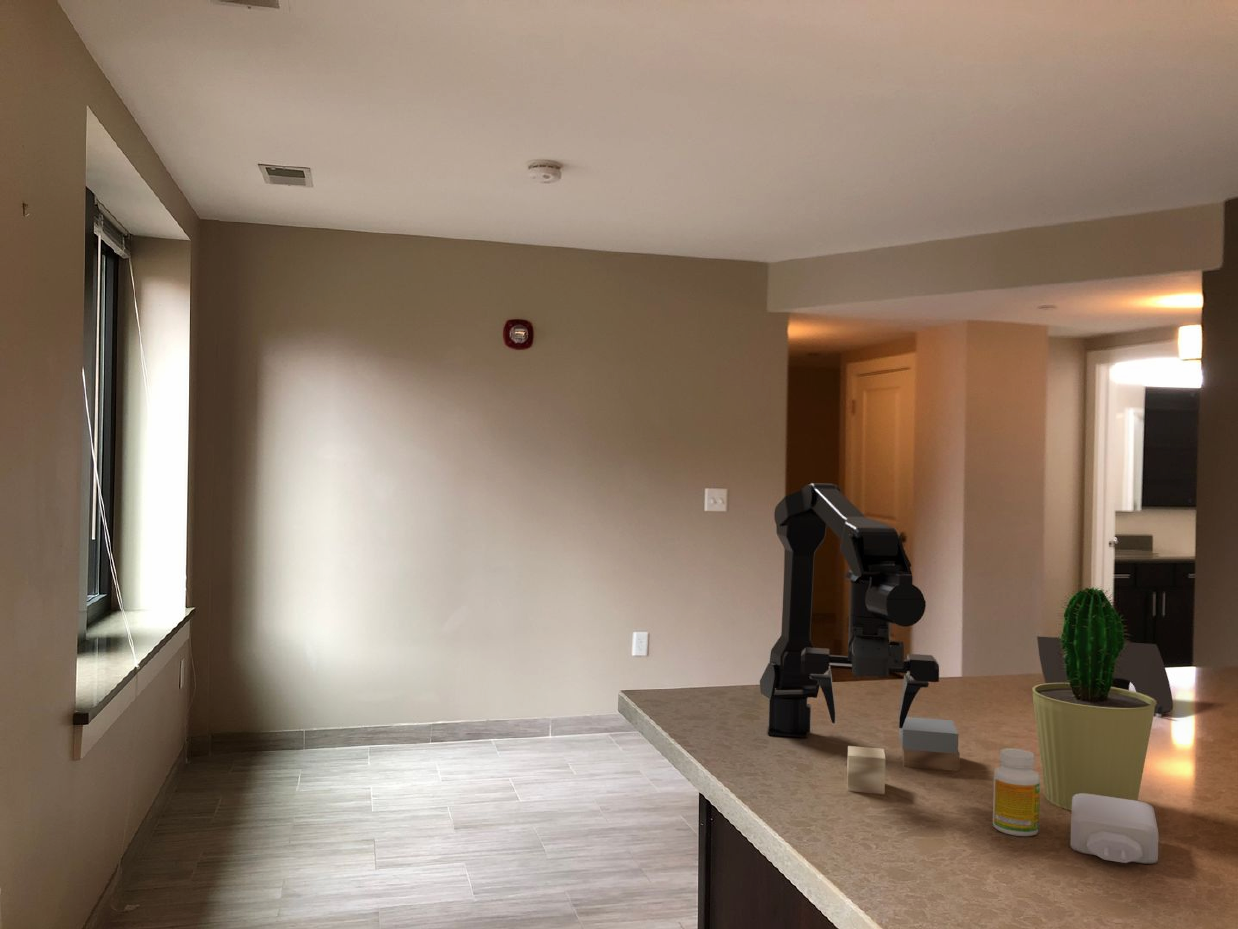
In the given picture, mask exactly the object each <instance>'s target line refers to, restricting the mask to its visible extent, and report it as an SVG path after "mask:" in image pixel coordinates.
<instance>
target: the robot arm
mask: <svg viewBox="0 0 1238 929" xmlns="http://www.w3.org/2000/svg"><path fill="white" fill-rule="evenodd" d="M773 514H774V515H773V516H774V522H775V524H776V527H775V528H776V529H775V530H776V536H777V538H778V539H779V541H780V542H781V544H782V546H783V548H784V550H785V551H784V554H785V555H784V574H783V589H782V591H783V593H782V613H781V615H782V616H781V634H780V636H779V638H778V639H777V641H776V642H775V643H774V645H773V647H772V648H771V650H770V654H769V656H770V657H769V662H768V664H767V666H766V668H765V670H764V672H763V674H761V677H760V679H759V689H760V694H761V695H763V696H765V697H766V698H767V699H768V701H769V702H768V706H769V707H768V727H767V731H766V733H767V735H769V736H779V737H793V738H808V733H810V732H811V724H812V722H811V714H812V705H811V704H810V703H808V699H809V698H811V699H812V698H814V699H817V698H818V694H819V690H820V689H821V692H822V693H823V696H824V699H825V703H826V706H827V710H828V714H829V717H830V720H831V723H832V724H835V723H836V707H835V706H836V705H835V698H834V687H833V686H834V685H833V676H832V669H837V670H838V669H839V670H851V674H852V675H853V676H855V677H859V678H863V677H876V678H877V679H886V678H887V677H889V673H898V674H904V675H903V682H902V690H901V696H900V704H899V712H898V729H900V728H902V727H903V725H904V722H905V719H906V717H908V714H909V711H910V708H911V705H912V704H913V701H914V699H915V698H916V696H917V694H918V692H919V691H920V690H921V689H922V688H928V687H929V684H930V683H939V682H940V664H939V662H938V661H937V659H936V658H935V657H934V656H933V655H932V654H920V653H919V654H918V653H907V655H906V659H905V658H904V657H905V654H904V653H905V652H904V651H905V644H904V641H900V640H899V641H898V640H897V641H896V640H891V624H893V625H896V626H900V627H904V628H905V627H906V628H907V627H912V626H914V625H915V624H917V623H919V621H921V619H922V618H923V616H924V615H925V612H926V606H927V603H926V599H925V596H924V594H923V593H922V590H921V589H920V588H919V587H918V586H916V585H914V584H913V574H912V570H911V566H912V564H911V561H910V559H909V557H908V555H907V552H906V551H905V548H904V546H903V542H902V539H901V537H900V536H899V533H898V531H897V530H896V528H894V527H893V526H891V525H889V524H888V523H885V522H884V521H880V520H875V519H871V518H869V517H867V516H865V514H864V513H863V512H861V510H860V509H859V508H857V507H856V506H855V505H854V504H853V503H852V502H851V500H849V499H848V498H847V497H846V496H845V495H843V493H842V492H841V489H840V486H838V485H836V484H834V483H825V482H824V483H819V482H816V483H813V482H811V483H810V484H806V485H805V486H804V487H803V488H802V489H801V490H797V491H796V492H793V493H790V494H788V495H786V496H784V497H783V498H782V499H781V501H779V503H778V504H776V506H775V508H774V513H773ZM827 527H828V528H829V529H831V531H832V532H833V533H834V534H835V535H836V536H837V537H838V538H839V540H840V546H839V551H840V553H841V554H842V556H843V558H844V559H845V561H846V563H847V565H848V567H849V568H850V569H849V570H847V572H846V573H845V575H844V577H845V579H846V580H849V601H848V602H849V606H848V636H847V637H848V641H847V642H848V643H847V655H837V654H836V655H835V654H830V648H825V647H823V648H822V647H821V648H820V647H815V645H814V643H813V642H812V640H811V631H812V628H811V627H812V614H813V613H812V611H813V610H812V608H813V594H814V593H813V588H814V570H815V554H816V552H817V550H818V549H819V547H820V546H821V544H822V543H823V542H824V540H825V538H826V534H827Z"/></svg>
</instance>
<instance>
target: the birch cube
mask: <svg viewBox="0 0 1238 929" xmlns="http://www.w3.org/2000/svg"><path fill="white" fill-rule="evenodd" d="M846 763H847V766H846V767H847V768H846V769H847V770H846V772H847V775H846V787H847V792H856V793H857V792H858V793H868V794H878V795H885V793H886V791H885V788H886V755H885V748H879V747H866V746H855V745H854V746H853V745H848V746H847V762H846Z"/></svg>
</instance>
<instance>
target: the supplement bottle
mask: <svg viewBox="0 0 1238 929" xmlns="http://www.w3.org/2000/svg"><path fill="white" fill-rule="evenodd" d="M999 761H1000V763H1001V765H999V766H997V767H996V768H995V769H994V772H993V791H992V792H993V795H992V796H993V799H992V802H993V803H992V826H993V827H994V828H995V829H996V830H997V831H998V832H1001V833H1003V834H1007V835H1008V836H1016V837H1032V836H1035V835H1037V834H1038V833H1039V824H1040V788H1041V787H1040V786H1041V783H1040V781H1041V780H1040V775H1039V773H1038V772H1037V771H1036V770H1034V769H1033V767H1035V754H1034V753H1033V752H1032V751H1029V750H1025V749H1021V748H1011V747H1010V748H1009V747H1008V748H1007V747H1006V748H1003V749H1000V755H999Z"/></svg>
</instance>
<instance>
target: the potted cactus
mask: <svg viewBox="0 0 1238 929" xmlns="http://www.w3.org/2000/svg"><path fill="white" fill-rule="evenodd" d="M1080 586H1082V584H1080ZM1077 587H1078V588H1077V590H1076V591H1075V592H1074V591H1072V593H1071V592H1070V594H1071V595H1072V596H1070V594H1067V595H1068V596H1069V598H1068V597H1067V596H1066V595H1064V599H1065V600H1066V601H1062V599H1061V600H1060V601H1061V602H1063V604H1062V603H1061V604H1059V605H1061V606H1060V607H1061V608H1063V609H1064V611H1062V610H1061V612H1060V613H1057V614H1059V617H1061V618H1063V623H1060V625H1062V627H1061V628H1062V631H1061V633H1060V634H1059V633H1058V635H1060V636H1055V637H1054V638H1061V642H1060V641H1059V642H1060V643H1061V644H1062V648H1063V650H1064V651H1063V652H1064V653H1066V655H1065V654H1063V655H1064V656H1065V660H1064V661H1061V662H1064V663H1065V666H1063V667H1065V668H1066V670H1060V671H1066V674H1067V679H1068V680H1065V681H1066V682H1067V681H1069V682H1070V683H1041V684H1037V685H1034V686H1032V688H1031V689H1032V702H1033V709H1034V715H1035V716H1034V717H1035V725H1036V731H1037V732H1036V733H1037V742H1038V750H1039V756H1040V758H1039V759H1040V765H1041V772H1042V783H1043V791H1044V794H1045V798H1046V800H1047V801H1048V802H1049V803H1051V804H1053V805H1054V806H1057V807H1058V808H1062V809H1065V810H1069V811H1072V798H1073V796H1074V795H1076V794H1081V793H1085V794H1093V795H1100V796H1107V797H1114V798H1121V799H1128V800H1135V801H1139V795H1140V789H1141V784H1142V778H1143V773H1144V768H1145V762H1146V758H1147V752H1148V748H1149V747H1148V746H1149V742H1150V737H1151V731H1152V727H1153V726H1152V725H1153V720H1154V716H1155V713H1154V708H1155V705H1156V704H1157V703H1156V700H1154V699H1153V698H1151V697H1149V696H1147V695H1144V694H1141V693H1137V692H1136V691H1135V690H1130V689H1129V690H1125V689H1120V688H1117V687H1116V688H1115V687H1113V686H1112V687H1111V685H1112V684H1113V683H1112V681H1113V675H1115V676H1117V675H1116V674H1115V673H1114V669H1115V667H1117V666H1115V664H1116V663H1115V660H1116V658H1117V657H1118V656H1119V653H1120V651H1121V650H1122V649H1124V648H1125V647H1124V646H1125V645H1124V642H1129V640H1128V639H1131V638H1132V637H1133V635H1132V634H1129V636H1131V637H1127V636H1126V635H1127V633H1124V632H1129V631H1131V630H1130V629H1128V630H1127V628H1126V629H1125V627H1129V626H1130V625H1126V624H1125V625H1124V623H1122V621H1123V619H1122V617H1123V616H1124V614H1121V615H1120V616H1119V613H1120V610H1117V606H1116V602H1117V601H1115V600H1116V598H1113V599H1111V597H1113V596H1114V595H1113V594H1114V592H1112V593H1111V594H1110V595H1109V592H1110V591H1111V589H1110V588H1108V589H1107V590H1105V589H1102V587H1100V589H1099V587H1098V586H1096V588H1094V586H1092V587H1090V586H1089V587H1084V588H1081V590H1080V588H1079V586H1077ZM1108 595H1109V596H1108ZM1065 597H1066V598H1067V599H1066V598H1065ZM1061 613H1063V614H1061ZM1126 620H1128V618H1127V619H1125V621H1126ZM1057 631H1058V632H1059V630H1057ZM1054 634H1056V633H1054ZM1125 636H1126V637H1125ZM1060 643H1059V644H1060ZM1057 644H1058V642H1057ZM1125 644H1126V643H1125ZM1128 647H1129V646H1128ZM1124 650H1125V649H1124ZM1061 651H1062V650H1061ZM1126 651H1127V650H1126ZM1121 652H1122V651H1121ZM1124 652H1125V651H1124ZM1061 653H1062V652H1061ZM1058 654H1059V653H1058ZM1059 656H1060V655H1059ZM1061 656H1062V655H1061ZM1064 656H1062V657H1064ZM1120 656H1121V655H1120ZM1120 656H1119V657H1120ZM1120 658H1121V657H1120ZM1117 660H1118V659H1117ZM1117 660H1116V661H1117ZM1123 660H1124V659H1123ZM1119 661H1120V660H1119ZM1118 663H1120V662H1118ZM1116 665H1118V664H1116ZM1121 665H1123V664H1121ZM1058 668H1059V667H1058ZM1118 668H1120V667H1117V669H1118ZM1062 669H1063V668H1062ZM1117 669H1116V670H1117ZM1116 670H1115V671H1116ZM1119 670H1120V669H1119ZM1118 672H1120V671H1118ZM1063 674H1064V675H1065V673H1063ZM1061 675H1062V674H1061ZM1118 678H1119V676H1118ZM1064 679H1065V678H1064ZM1116 681H1117V680H1116ZM1113 685H1114V684H1113Z"/></svg>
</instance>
